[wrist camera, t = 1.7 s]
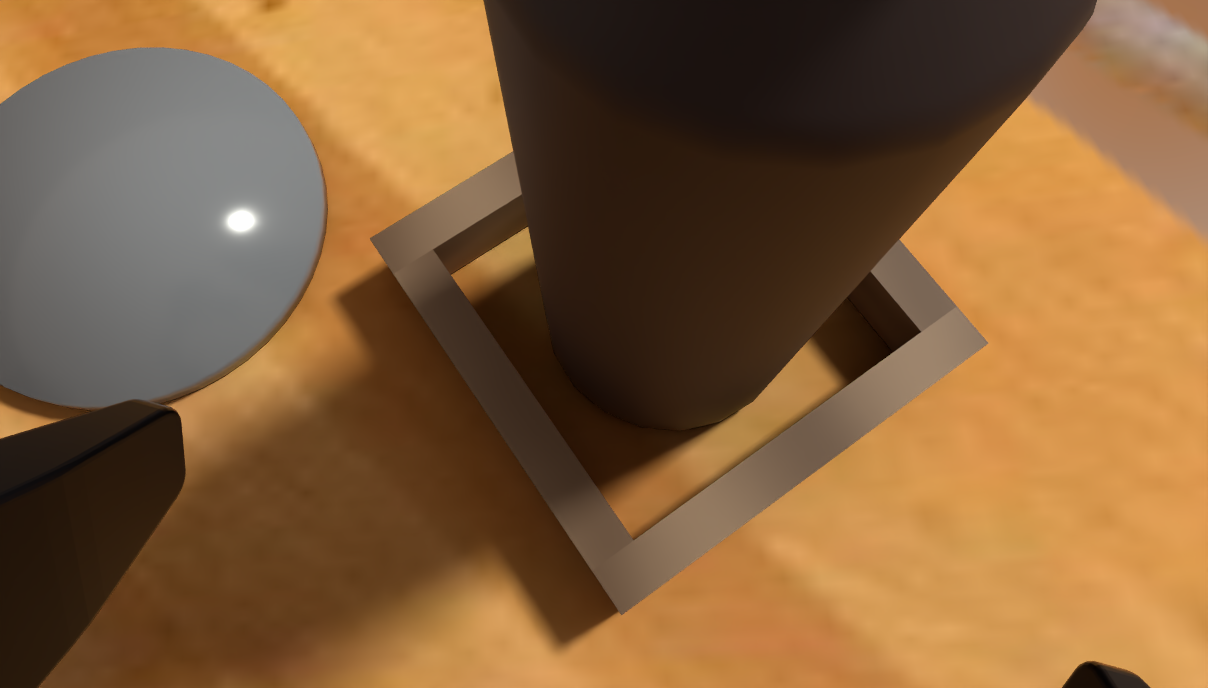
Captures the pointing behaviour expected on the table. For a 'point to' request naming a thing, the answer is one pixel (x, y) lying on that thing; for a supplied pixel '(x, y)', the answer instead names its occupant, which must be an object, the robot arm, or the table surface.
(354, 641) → the table surface
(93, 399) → the slate coaster
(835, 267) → the vinegar
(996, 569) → the table surface
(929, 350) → the bottle caddy
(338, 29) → the table surface
